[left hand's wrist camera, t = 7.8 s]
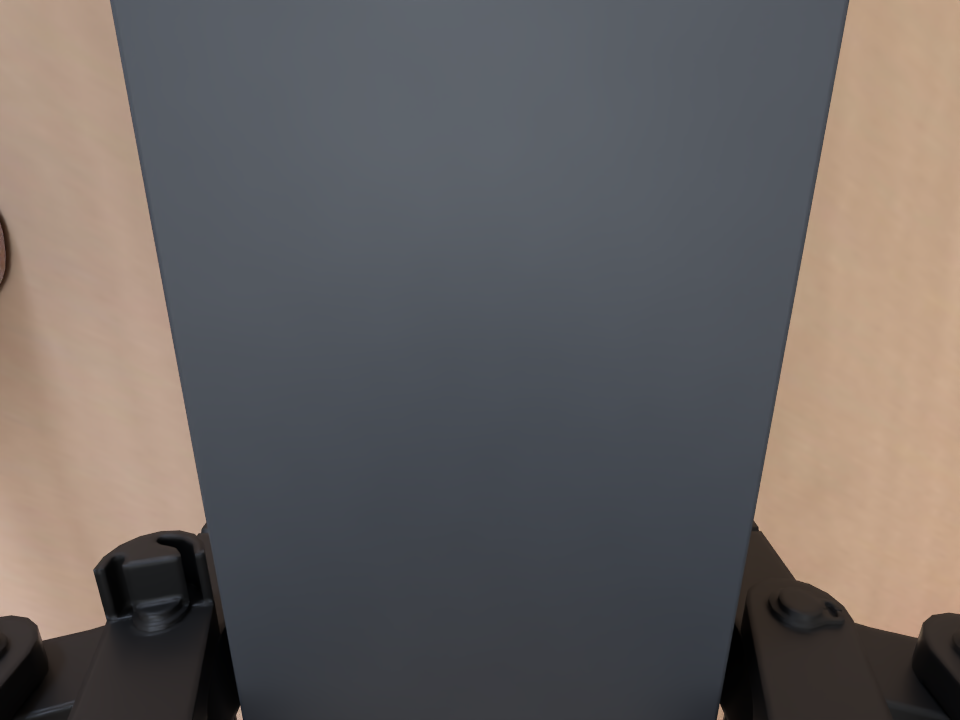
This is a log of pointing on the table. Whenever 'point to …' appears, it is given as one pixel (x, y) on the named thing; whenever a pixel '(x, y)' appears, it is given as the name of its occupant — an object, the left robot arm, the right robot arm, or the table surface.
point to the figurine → (2, 254)
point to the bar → (479, 333)
